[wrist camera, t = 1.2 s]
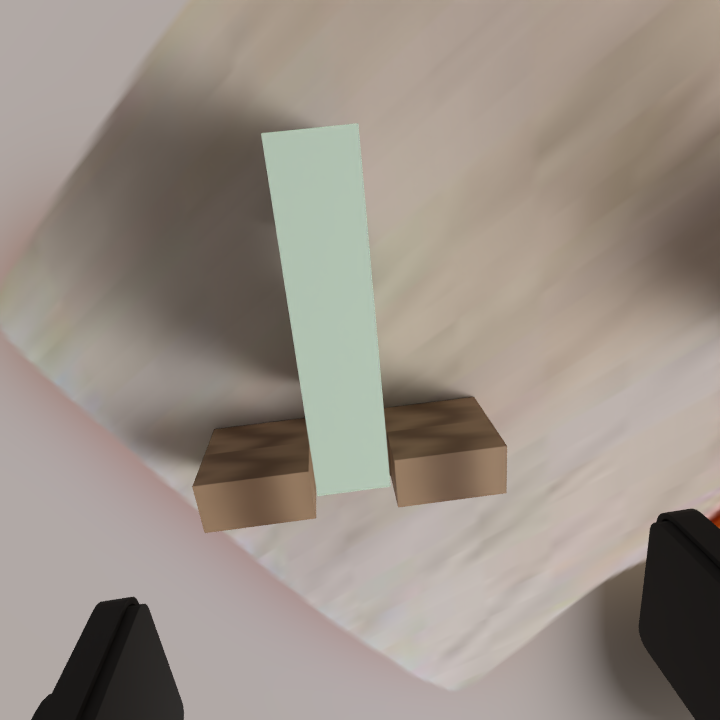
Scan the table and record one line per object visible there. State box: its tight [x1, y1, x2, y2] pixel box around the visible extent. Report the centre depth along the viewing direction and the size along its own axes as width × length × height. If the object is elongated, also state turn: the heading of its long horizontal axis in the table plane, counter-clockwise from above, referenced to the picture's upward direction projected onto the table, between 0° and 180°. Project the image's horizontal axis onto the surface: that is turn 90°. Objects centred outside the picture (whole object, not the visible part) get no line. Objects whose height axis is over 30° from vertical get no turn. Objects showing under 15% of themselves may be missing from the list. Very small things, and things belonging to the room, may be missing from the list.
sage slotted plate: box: [261, 123, 391, 496], centre depth 31 cm, size 18×4×15 cm, turn 5°
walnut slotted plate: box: [192, 397, 507, 533], centre depth 39 cm, size 22×4×8 cm, turn 96°
